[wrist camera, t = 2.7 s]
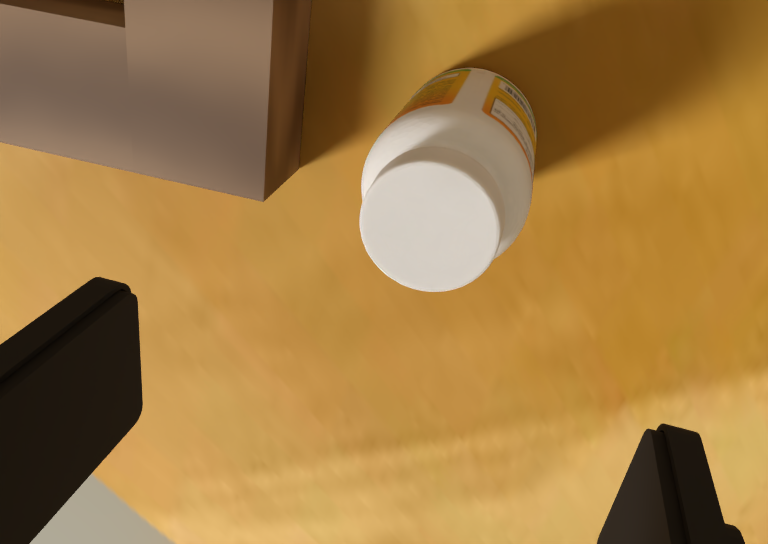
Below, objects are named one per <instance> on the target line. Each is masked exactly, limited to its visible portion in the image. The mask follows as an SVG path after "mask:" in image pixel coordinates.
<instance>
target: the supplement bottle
mask: <svg viewBox="0 0 768 544" xmlns="http://www.w3.org/2000/svg"><path fill="white" fill-rule="evenodd" d="M536 146H537V130H536V123H535V118H534V115H533V112H532V109H531V107H530V105H529V103H528V101H527V99H526V98H525V96H524V95H523V94H522V92H521V91H520V90H519V89H518V88H517V87H516V86H515V85H514V84H513V83H511V82H510V81H509V80H507V79H506V78H504V77H503V76H501V75H499V74H497V73H494V72H491V71H488V70H485V69H478V68H461V69H455V70H451V71H447V72H445V73H442V74H440V75H438V76H436V77H434V78H433V79H431V80H429V81H428V82H427V83H426V84H424V85H423V86H422V87H421V88H420V89H419V90H418V91H417V92H416V93H415V94H414V95H413V97H412V98H411V99H410V100H409V102H408V103H407V104H406V105H405V106H404V108H403V109H402V110H401V111H400V112H399V113H398V115H397V116H396V117H395V118H394V119H393V120H392V122H391V123H390V124H389V125H388V126H387V127H386V128H385V130H384V131H383V132H382V133H381V135H380V136H379V137H378V139H377V140H376V142H375V143H374V145H373V146H372V148H371V150H370V152H369V154H368V156H367V159H366V162H365V165H364V169H363V174H362V184H361V190H362V200H363V203H362V206H361V211H360V231H361V237H362V241H363V243H364V246H365V248H366V250H367V252H368V254H369V256H370V257H371V259H372V260H373V262H374V263H375V264H376V265H377V266H378V268H379V269H380V270H382V271H383V272H384V273H385V274H386V275H387V276H389V277H390V278H392V279H393V280H395V281H397V282H398V283H400V284H402V285H404V286H407V287H410V288H412V289H416V290H421V291H429V292H441V291H449V290H453V289H457V288H460V287H462V286H465V285H467V284H468V283H470V282H472V281H474V280H475V279H477V278H478V277H479V276H480V275H481V274H483V273H484V272H485V270H486V269H487V268H488V267H489V266H490V264H491V262H492V261H493V259H495V258H496V257H498V256H499V255H501V254H502V253H503V252H504V251H505V250H506V249H507V248H508V247H509V246H510V245H511V244H512V243H513V242H514V241H515V239H516V238H517V236H518V235H519V233H520V231H521V230H522V228H523V226H524V224H525V221H526V219H527V216H528V212H529V208H530V204H531V198H532V188H533V176H534V166H535V156H536Z"/></svg>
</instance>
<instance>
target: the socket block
mask: <svg viewBox="0 0 768 544" xmlns="http://www.w3.org/2000/svg"><path fill="white" fill-rule="evenodd" d="M310 13H311V0H124V4H120V3H115V2H110V1H104V0H0V142H2V143H6V144H11V145H15V146H19V147H24V148H28V149H33V150H37V151H42V152H46V153H50V154H55V155H59V156H64V157H68V158H72V159H77V160H81V161H86V162H90V163H94V164H99V165H103V166H108V167H112V168H117V169H121V170H125V171H130V172H134V173H139V174H143V175H147V176H152V177H156V178H161V179H165V180H169V181H174V182H178V183H183V184H187V185H191V186H196V187H200V188H205V189H209V190H214V191H218V192H222V193H227V194H231V195H236V196H240V197H244V198H249V199H253V200H258V201H262V202H264V201H265V200H266V199H267V198H268V197H269V196H270V195H271V194H272V193H273V192H275V191H276V190H277V189H278V188H279V187H280V186H281V185H282V184H283V183H284V182H285V181H286V180H287V179H288V178H290V177H291V176H292V175H293V174H294V173H295V172H296V171H297V170H298V169H299V159H300V145H301V132H302V119H303V106H304V93H305V79H306V66H307V53H308V40H309V26H310Z"/></svg>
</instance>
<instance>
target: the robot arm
mask: <svg viewBox="0 0 768 544" xmlns="http://www.w3.org/2000/svg"><path fill="white" fill-rule="evenodd" d="M142 405H143V401H142V381H141V360H140V340H139V319H138V301H137V297H136V295H134V294H132V293H131V290H130V288H129V286H128V285H126V284H124V283H120V282H117V281H113V280H109V279H105V278H101V277H95V278H93V279H91V280H90V281H88V282H87V283H86V284H84V285H83V286H81V287H80V288H79V289H77V290H76V291H74V292H73V293H72V294H70V295H69V296H67V297H66V298H65V299H63V300H62V301H61V302H59V303H58V304H56V305H55V306H54V307H52V308H51V309H49V310H48V311H47V312H45V313H44V314H42V315H41V316H40V317H38V318H37V319H35V320H34V321H33V322H31V323H30V324H28V325H27V326H26V327H24V328H23V329H22V330H20V331H19V332H17V333H16V334H15V335H13V336H12V337H10V338H9V339H8V340H6V341H5V342H3V343H2V344H1V345H0V544H29V543H30V542H31V541H32V540H33V539H34V538H35V537H36V536H37V534H38V533H39V532H40V531H41V530H42V529H43V528H44V526H45V525H46V524H47V523H48V522H49V521H50V520H51V519H52V517H53V516H54V515H55V514H56V513H57V512H58V511H59V509H60V508H61V507H62V506H63V505H64V504H65V503H66V502H67V500H68V499H69V498H70V497H71V496H72V495H73V494H74V493H75V491H76V490H77V489H78V488H79V487H80V486H81V485H82V484H83V482H84V481H85V480H86V479H87V478H88V477H89V476H90V475H91V473H92V472H93V471H94V470H95V469H96V468H97V467H98V465H99V464H100V463H101V462H102V461H103V460H104V459H105V458H106V456H107V455H108V454H109V453H110V452H111V451H112V450H113V449H114V447H115V446H116V445H117V444H118V443H119V442H120V441H121V439H122V438H123V437H124V436H125V435H126V434H127V433H128V432H129V430H130V429H131V428H132V427H133V426H134V425H135V423H136V422H137V421H138V419H139V417H140V414H141V411H142ZM597 544H745V542H744V539H743V537H742V534H741V532H740V531H739V530H738V529H737V528H736V527H735V526H732V525H729V524H725V523H724V520H723V516H722V512H721V509H720V505H719V501H718V498H717V494H716V491H715V487H714V483H713V480H712V476H711V473H710V469H709V465H708V462H707V458H706V454H705V451H704V447H703V444H702V440H701V437H700V435H699V434H698V433H697V432H694V431H690V430H686V429H682V428H679V427H675V426H671V425H667V424H661V425H660V426H659V427H658V428H657V430H656V431H655V430H652V429H647V430H646V431H645V432H644V434H643V436H642V438H641V441H640V443H639V445H638V448H637V450H636V452H635V455H634V457H633V459H632V461H631V464H630V466H629V468H628V471H627V473H626V475H625V478H624V480H623V482H622V484H621V487H620V489H619V491H618V494H617V496H616V498H615V501H614V503H613V505H612V508H611V510H610V512H609V514H608V517H607V519H606V521H605V524H604V526H603V528H602V531H601V533H600V535H599V538H598V541H597Z"/></svg>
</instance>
